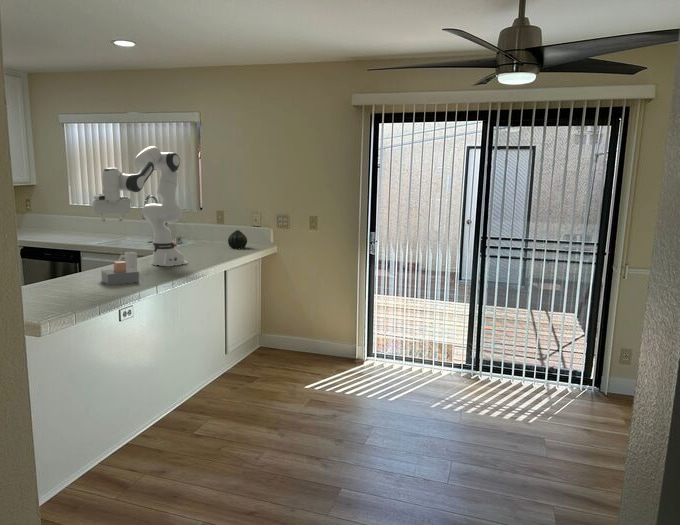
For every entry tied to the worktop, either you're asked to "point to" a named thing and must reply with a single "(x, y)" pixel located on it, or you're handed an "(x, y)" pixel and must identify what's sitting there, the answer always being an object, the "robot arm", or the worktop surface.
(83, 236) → the worktop surface
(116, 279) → the stand
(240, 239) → the squash
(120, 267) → the cube
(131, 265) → the mug
